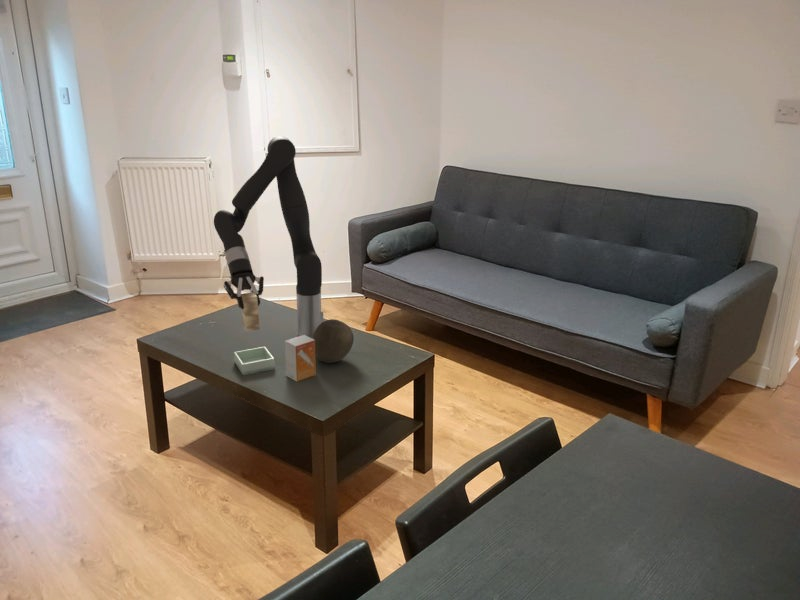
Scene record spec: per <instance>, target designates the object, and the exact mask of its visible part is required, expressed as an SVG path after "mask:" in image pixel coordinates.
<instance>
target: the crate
mask: <svg viewBox="0 0 800 600" xmlns="http://www.w3.org/2000/svg"><path fill="white" fill-rule="evenodd" d="M233 355H234V357H233V359H234V363H235V365H236V367H237V368H238V369H239V372H240V373H241V374H242V375H243V376H246V375H251V374H255V373H256V374H257V373H261V371H262V372H266V371H272V370H275V368H276V367H275V357H274V356H273V355H272V353H271V352H270V351H269V350H268V348H267V347H266V346H260V347H254V348H249V349H244V350H239V351H234V352H233Z"/></svg>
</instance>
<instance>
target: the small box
mask: <svg viewBox="0 0 800 600" xmlns="http://www.w3.org/2000/svg"><path fill="white" fill-rule="evenodd" d="M284 349H285V350H284V352H285V355H284V357H285V376H286V377H288V378H289V379H292V380H293V381H295V382H296V383H297V382H299V381H300V382H301V381H302V380H305V379H308V378H310V377H313V376H316V374H317V373H316V370H317V369H316V368H317V367H316V355H315V340H314V339H313V338H310V337H308V336H306V335H302V336H299V335H298V336H295V337H292V338H289V339H287V340H284Z"/></svg>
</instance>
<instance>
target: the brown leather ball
mask: <svg viewBox="0 0 800 600" xmlns="http://www.w3.org/2000/svg"><path fill="white" fill-rule="evenodd" d="M354 337H355V335H354V333H353V331H352V328H351V327H350V326H349V325H348V324H347V323H345V322H343V321H341V320H339V319H327V320H325V321H324V322H322V323H321V324H320V325H319V326H318V327H317V328H316V330H315V332H314V334H313V338H312V339H314V340H315V358H317V359H318V360H319V361H321V362H323V363H326V364H333V363H336V362H339V361H341V360H342V359H344V358H345V357H346V356H347V355H348V354H349V353H350V351H351V349H352V347H353V344H354Z"/></svg>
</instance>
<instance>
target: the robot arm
mask: <svg viewBox="0 0 800 600" xmlns="http://www.w3.org/2000/svg"><path fill="white" fill-rule="evenodd" d="M295 157H296V146H295V145H294V143H293V142H292V141H291V140H290V139H289V138H287V137H285V136H282V135H276V136H274V137H272V139H270V141H269V143H268V145H267V154H266V156H265V158H264V160H263V162H262V164H261V165H260V166H259V167H258V169H257V170H256V171H255V172H254V174H252V176H250V177H249V178H248V179H247V180H246V182H244V184H242V186H241V187H240V189H239V190H238V191H237V192H236V194H235V195H234V197H233V199H232V200H231V204H232V207H234V211H233V212H231V211H228V210H225V209H221V210H218V211H217V212H216V213H215V215H214V217H213V226H214V229H215V231H216V233H217V235H218V237H219V239H220V241H221V242H222V245H223V249H224V251H225V259H226V265H227V268H228V271H229V275H230V280H229V281H228V280H226V281H224V283H223V288H224V290H225V291H226V292H227V294H228V296H229V298H230V299H231V300H234V299H235V300H236V301H237V305H238V308H239V309H240V310H242V309H244V304H243V301H242V297H241V294H242V291H245V290H246V291H247V290H249V293H251V292H254V293H255V294H256V295H257V300H258V308H259V306H260V304H261V299H260V296H261V295H262V294H263V291H264V281H265V279H264V276H260V277H258V276H256V275H255V274H254V272H253V268H252V265H251V261H250V257H249V253H248V251H247V248H246V245H245V242H244V238H243V237H242V235H241V234H239V233H240V232H241V230H242V229H243V228H244V227H245V223H246V221H247V218H248V216H249V214H250V211H251V210H252V209H253V207H254V206H255V205H256V204H257V202H258V201H259V199H260V198H261V196H262V195H263V193H264V192H265V191H266V189H267V188H268V187H269V186H270V185H271V183H272V182H273V181H274V180H275V179H276V183H277V190H278V191H277V192H278V198H279V202H280V203H279V204H280V208H281V212H282V216H283V219H284V224H285V226H286V229H287V232H288V234H289V237H290V241H291V248H292V254H293V255H292V256H293V264H294V266H295V268H296V287H295V290H296V292H295V294H296V313H297V314H296V315H297V317H296V319H297V335H298V336H302V335H306V336H308V337H310V338H312V339H313V334H314V332H315V330H316V328H317V327H318V326H319V325H320V324H321V323H322V322H324V320H325V319H324V311H323V310H322V284H323V283H322V280H323V279H322V278H323V277H322V276H323V275H322V272H323V271H322V270H323V269H322V261H321V259H320V257H319V255H318V254H317V253H316V250H315V247H314V244H313V240H312V238H311V231H310V230H311V229H310V227H311V226H310V213H309V207H308V203H307V200H306V195H305V192H304V191H303V188H302V187H303V186H302V185H301V182H300V180H299V177H298V174H297V169H296V164H295V163H296V162H295ZM255 282H256V283H257V284H258V289H257V287H256V285H255V284H254V283H255ZM232 285H233V287H235V288H236V292H235V291H234V290H233V288H232Z"/></svg>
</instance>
